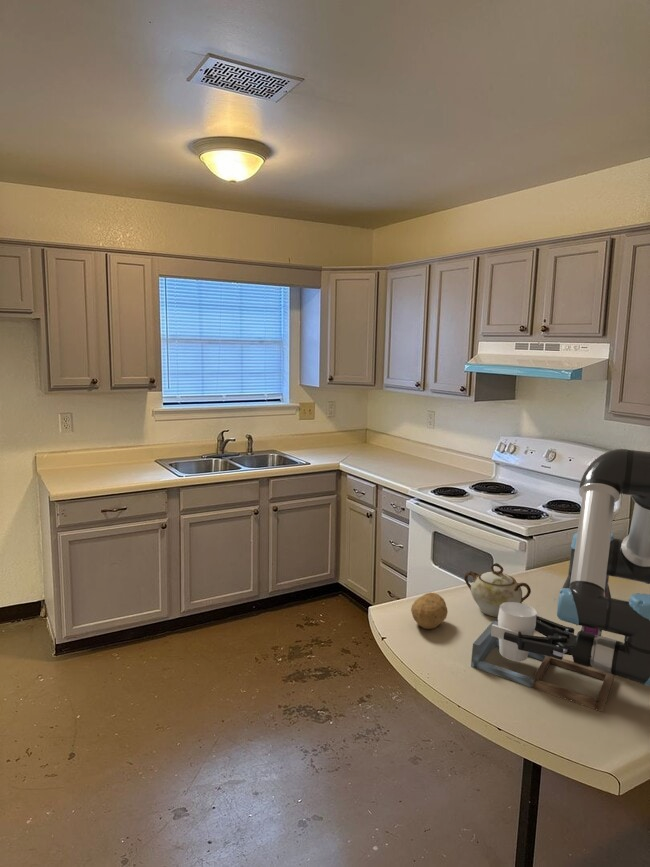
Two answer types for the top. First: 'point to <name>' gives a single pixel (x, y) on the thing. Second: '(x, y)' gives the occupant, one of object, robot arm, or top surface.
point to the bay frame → (540, 672)
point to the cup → (515, 627)
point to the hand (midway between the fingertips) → (497, 622)
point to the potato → (429, 610)
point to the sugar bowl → (495, 590)
